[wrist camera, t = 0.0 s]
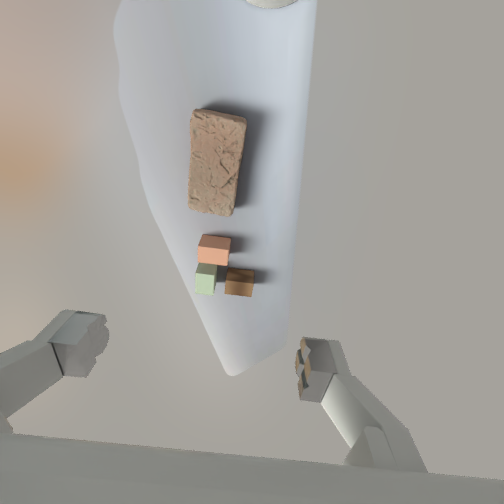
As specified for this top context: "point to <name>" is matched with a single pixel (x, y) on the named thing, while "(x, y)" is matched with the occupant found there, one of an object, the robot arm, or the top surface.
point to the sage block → (205, 278)
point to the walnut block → (239, 282)
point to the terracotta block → (214, 250)
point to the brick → (215, 160)
